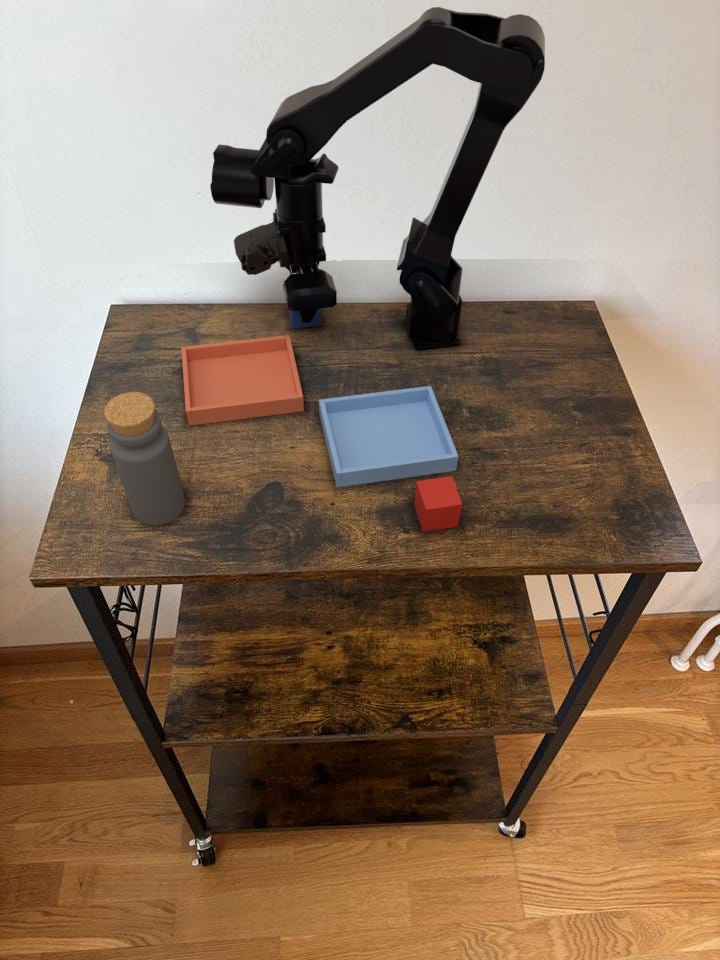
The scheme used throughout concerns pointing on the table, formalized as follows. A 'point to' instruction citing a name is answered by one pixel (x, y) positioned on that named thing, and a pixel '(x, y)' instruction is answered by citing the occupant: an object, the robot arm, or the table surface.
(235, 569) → the table surface
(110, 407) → the bottle
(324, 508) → the table surface
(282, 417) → the table surface
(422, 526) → the red block
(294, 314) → the blue block
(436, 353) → the table surface
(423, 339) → the robot arm
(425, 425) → the blue tray
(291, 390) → the orange tray
